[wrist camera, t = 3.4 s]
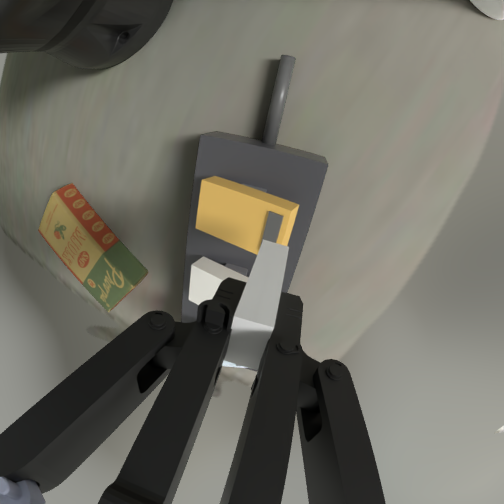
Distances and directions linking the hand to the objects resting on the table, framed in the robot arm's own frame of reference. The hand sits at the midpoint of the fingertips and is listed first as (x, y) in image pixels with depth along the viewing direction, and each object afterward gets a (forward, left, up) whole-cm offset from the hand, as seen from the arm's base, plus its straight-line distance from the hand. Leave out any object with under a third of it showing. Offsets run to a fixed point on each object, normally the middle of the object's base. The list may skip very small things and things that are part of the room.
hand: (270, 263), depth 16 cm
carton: (-23, -11, -12) cm, 28 cm away
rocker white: (-3, -7, -5) cm, 9 cm away
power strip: (-3, -3, -11) cm, 12 cm away
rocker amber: (-3, 0, -5) cm, 6 cm away
